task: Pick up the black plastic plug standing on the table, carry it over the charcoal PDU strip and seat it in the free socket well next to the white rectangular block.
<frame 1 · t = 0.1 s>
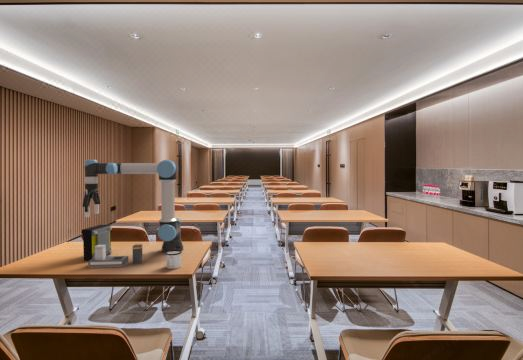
hand: (92, 215, 201), 28 cm above the table, fingers open, 13 cm apart
plug: (137, 262, 191), on the table
electrical component: (98, 257, 203), on the table
white rectangular block: (100, 263, 186), point 1 cm above the table, touching pdu strip
pdu strip: (109, 264, 186), on the table
mug: (173, 268, 181), on the table
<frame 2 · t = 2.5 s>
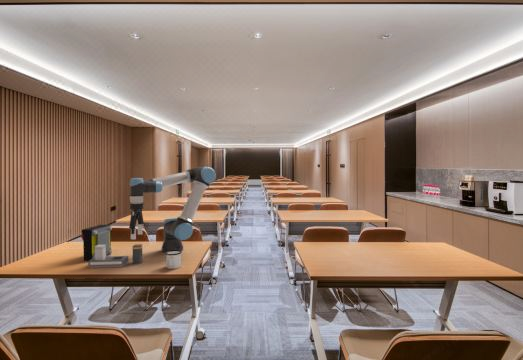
hand: (136, 236, 190), 16 cm above the table, fingers open, 13 cm apart
nothing on the table moved.
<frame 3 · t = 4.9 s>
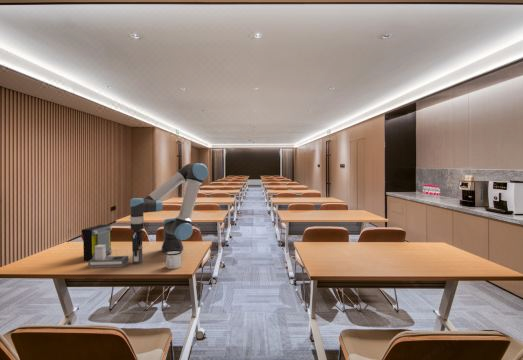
hand: (137, 259, 191), 2 cm above the table, fingers closed on plug, 4 cm apart
plug: (137, 262, 191), on the table, touching gripper
everything else where it was.
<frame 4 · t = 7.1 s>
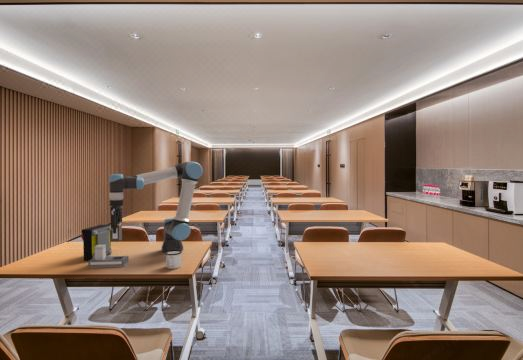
hand: (116, 237, 186), 17 cm above the table, fingers closed on plug, 4 cm apart
plug: (116, 240, 186), point 15 cm above the table, touching gripper
everything else where it was.
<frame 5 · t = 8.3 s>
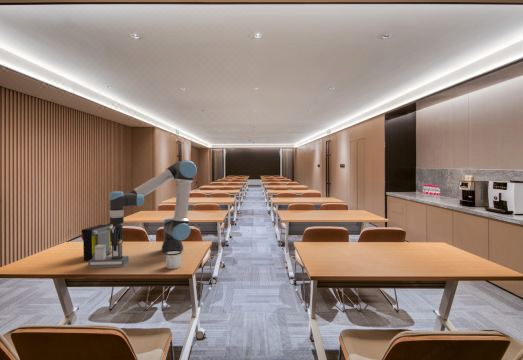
hand: (117, 254, 186), 6 cm above the table, fingers closed on plug, 4 cm apart
plug: (117, 257, 186), point 4 cm above the table, touching gripper
everything else where it was.
when the fingers open (5 cm above the table, at t = 9.4 s): plug drops 2 cm, resting on pdu strip.
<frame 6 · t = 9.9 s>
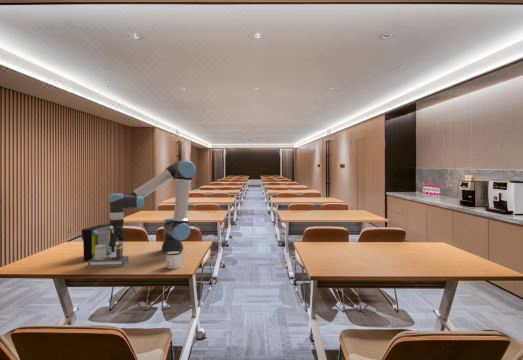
hand: (117, 254, 186), 6 cm above the table, fingers open, 11 cm apart
plug: (117, 263, 187), point 1 cm above the table, touching pdu strip
everything else where it was.
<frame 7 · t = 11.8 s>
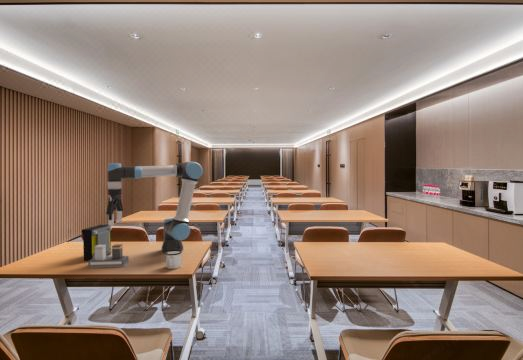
hand: (115, 223, 186), 25 cm above the table, fingers open, 13 cm apart
nothing on the table moved.
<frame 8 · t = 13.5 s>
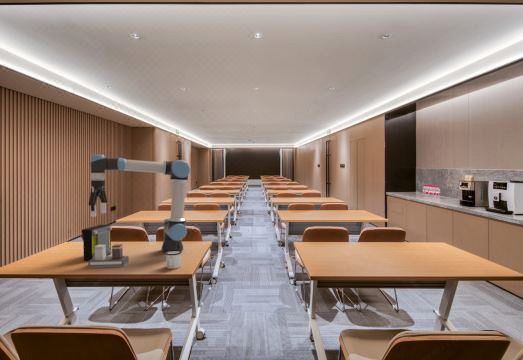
hand: (98, 214, 186), 31 cm above the table, fingers open, 13 cm apart
nothing on the table moved.
at the end: plug 0.0 cm from the target spot on the pdu strip, point 1.0 cm above the pdu strip's base; plug tilted 0°; the gripper is holding nothing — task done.
